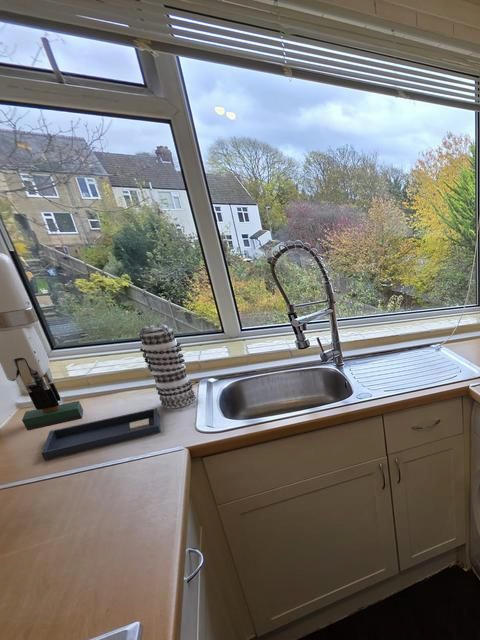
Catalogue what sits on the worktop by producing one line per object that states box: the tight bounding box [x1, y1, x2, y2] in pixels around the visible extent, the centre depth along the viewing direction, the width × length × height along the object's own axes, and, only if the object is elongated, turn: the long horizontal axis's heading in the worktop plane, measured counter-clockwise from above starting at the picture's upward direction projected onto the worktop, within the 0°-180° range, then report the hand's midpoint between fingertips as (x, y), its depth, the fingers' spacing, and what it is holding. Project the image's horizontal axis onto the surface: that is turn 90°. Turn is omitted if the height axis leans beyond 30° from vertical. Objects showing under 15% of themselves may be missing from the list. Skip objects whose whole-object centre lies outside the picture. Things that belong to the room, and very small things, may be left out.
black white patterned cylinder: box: [136, 324, 197, 409], centre depth 121 cm, size 9×9×25 cm
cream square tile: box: [130, 419, 150, 431], centre depth 112 cm, size 4×4×1 cm
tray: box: [40, 407, 161, 461], centre depth 108 cm, size 22×14×3 cm, turn 130°
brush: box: [21, 377, 84, 431], centre depth 85 cm, size 8×5×10 cm, turn 132°
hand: (49, 404), depth 85 cm, fingers closed on brush, 2 cm apart
